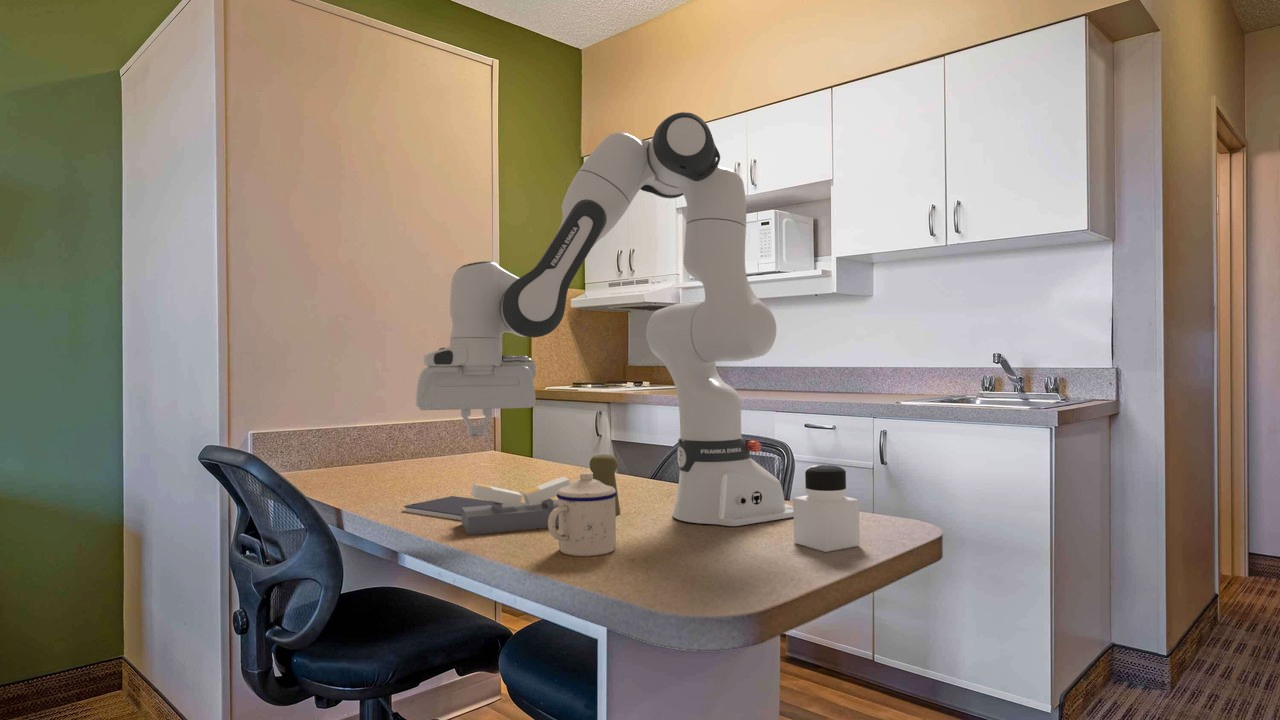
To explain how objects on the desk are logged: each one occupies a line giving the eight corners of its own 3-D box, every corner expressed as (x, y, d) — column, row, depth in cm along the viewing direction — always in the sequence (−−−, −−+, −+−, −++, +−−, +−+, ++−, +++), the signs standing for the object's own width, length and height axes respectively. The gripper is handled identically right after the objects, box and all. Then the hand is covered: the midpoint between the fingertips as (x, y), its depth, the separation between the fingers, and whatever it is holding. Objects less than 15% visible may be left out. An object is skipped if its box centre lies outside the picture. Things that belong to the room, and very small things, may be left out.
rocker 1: (515, 502, 138) (518, 491, 138) (519, 506, 134) (522, 494, 135) (471, 493, 136) (474, 482, 136) (474, 497, 132) (477, 485, 132)
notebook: (527, 513, 149) (452, 503, 161) (527, 505, 149) (452, 495, 161) (478, 525, 138) (402, 514, 151) (478, 517, 138) (402, 505, 151)
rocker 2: (566, 486, 141) (563, 475, 141) (572, 490, 138) (569, 478, 137) (525, 502, 139) (521, 491, 139) (529, 505, 135) (526, 494, 135)
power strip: (602, 512, 146) (601, 489, 146) (616, 521, 138) (616, 497, 138) (461, 524, 137) (461, 500, 137) (468, 535, 129) (468, 509, 129)
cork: (616, 517, 141) (615, 457, 141) (584, 516, 142) (583, 456, 142) (623, 510, 147) (622, 453, 147) (592, 510, 148) (591, 452, 148)
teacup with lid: (589, 539, 124) (587, 467, 124) (630, 548, 118) (628, 472, 118) (530, 554, 115) (528, 476, 115) (571, 565, 109) (569, 482, 109)
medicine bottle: (860, 546, 117) (859, 467, 117) (825, 553, 113) (823, 471, 113) (827, 537, 123) (826, 461, 123) (792, 543, 119) (791, 465, 119)
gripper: (532, 355, 141) (532, 432, 140) (414, 356, 134) (415, 436, 134) (539, 355, 135) (539, 434, 134) (417, 355, 128) (417, 439, 128)
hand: (476, 435), depth 134 cm, fingers closed
